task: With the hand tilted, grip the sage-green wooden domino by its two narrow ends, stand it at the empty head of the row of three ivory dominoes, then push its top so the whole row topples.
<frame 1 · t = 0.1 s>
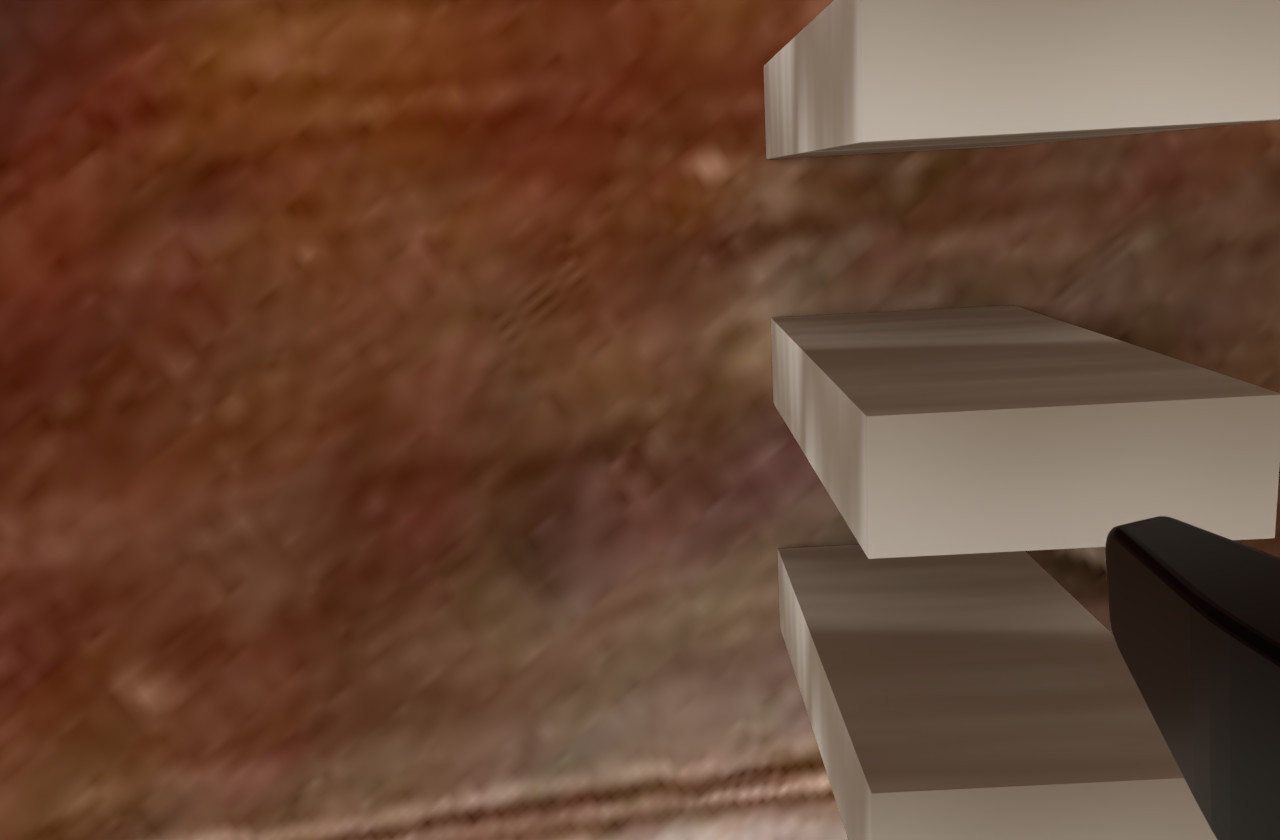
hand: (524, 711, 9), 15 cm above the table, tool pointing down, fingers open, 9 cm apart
ivory domino 1: (894, 582, 25), on the table
ivory domino 3: (890, 106, 23), on the table
ivory domino 2: (892, 354, 24), on the table
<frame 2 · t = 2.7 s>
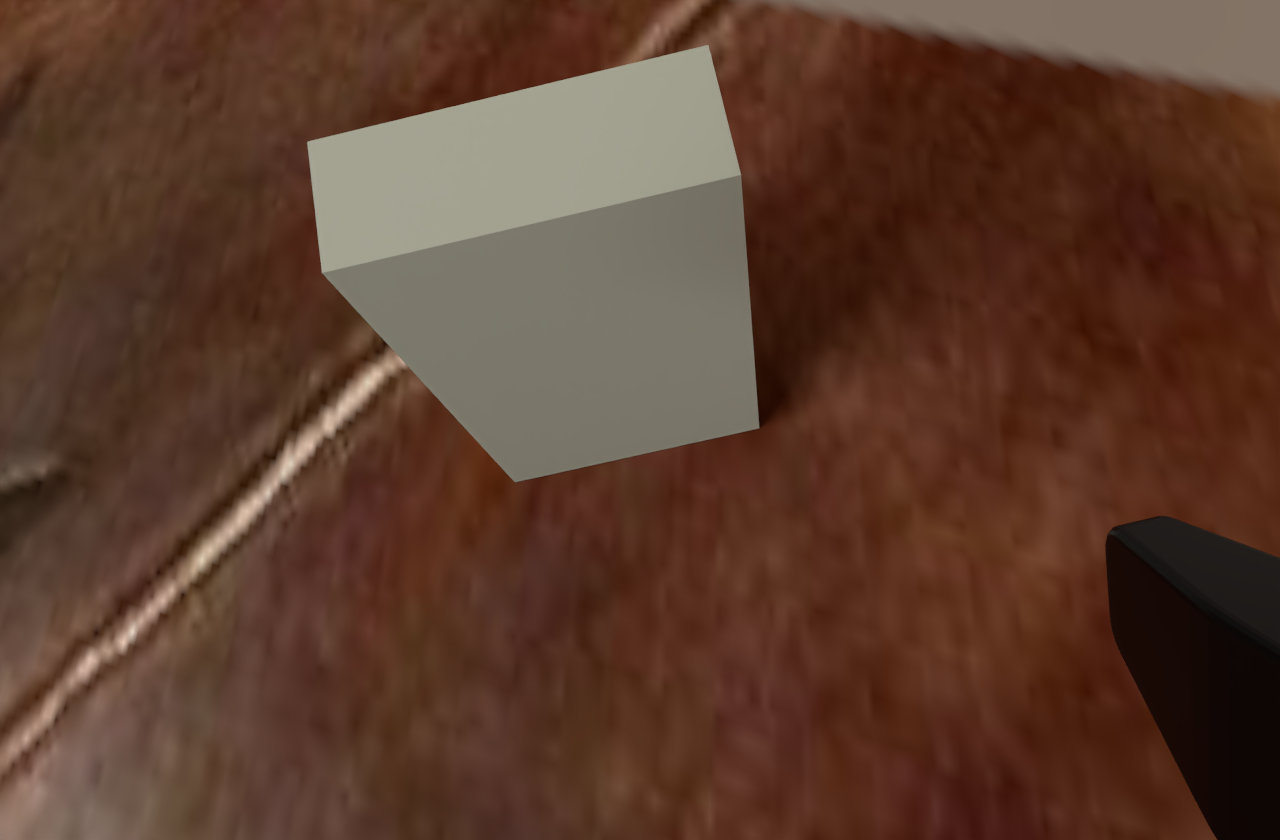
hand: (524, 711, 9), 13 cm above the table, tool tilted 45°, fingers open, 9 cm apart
sage domino: (628, 413, 23), on the table
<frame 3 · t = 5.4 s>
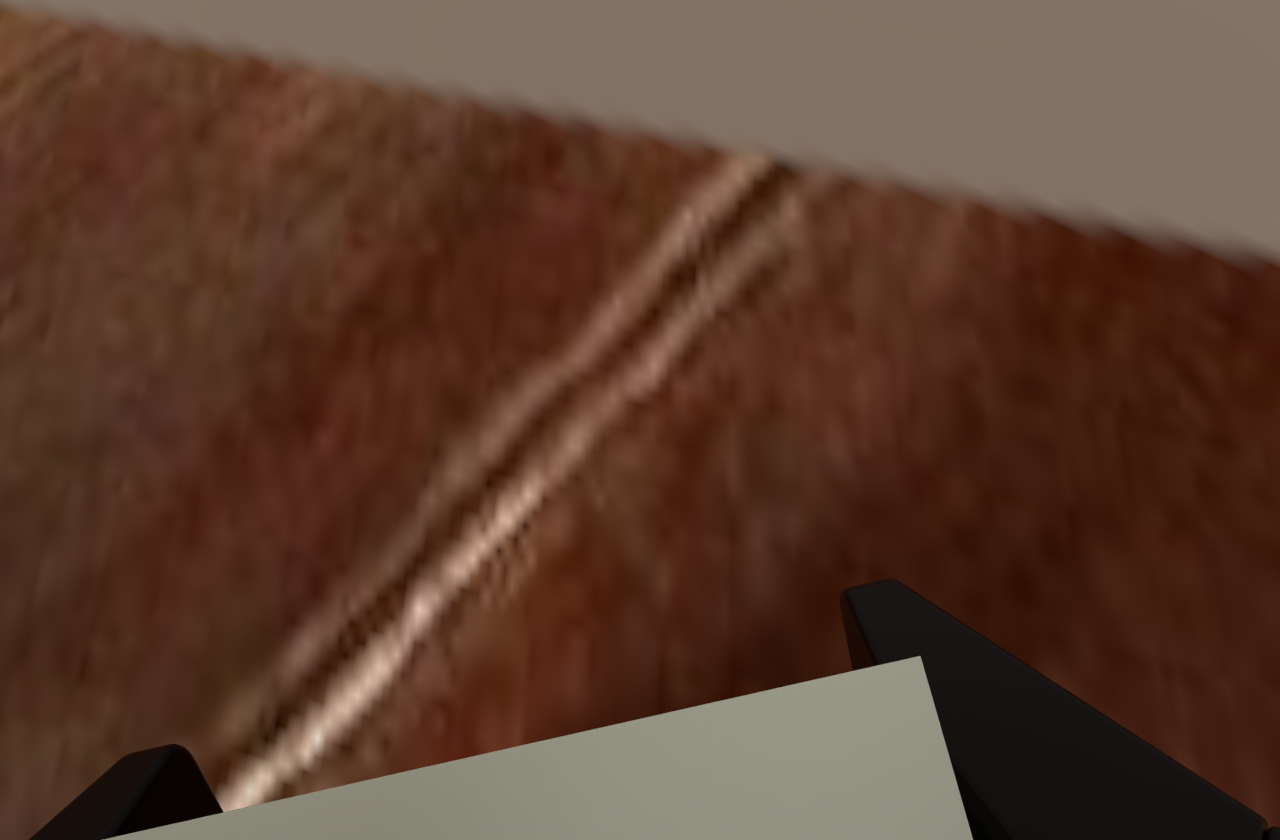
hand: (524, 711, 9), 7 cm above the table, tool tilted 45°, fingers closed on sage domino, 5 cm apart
when the fingers open (7 cm above the table, at t = 11.0 s): sage domino stays where it is, on the table.
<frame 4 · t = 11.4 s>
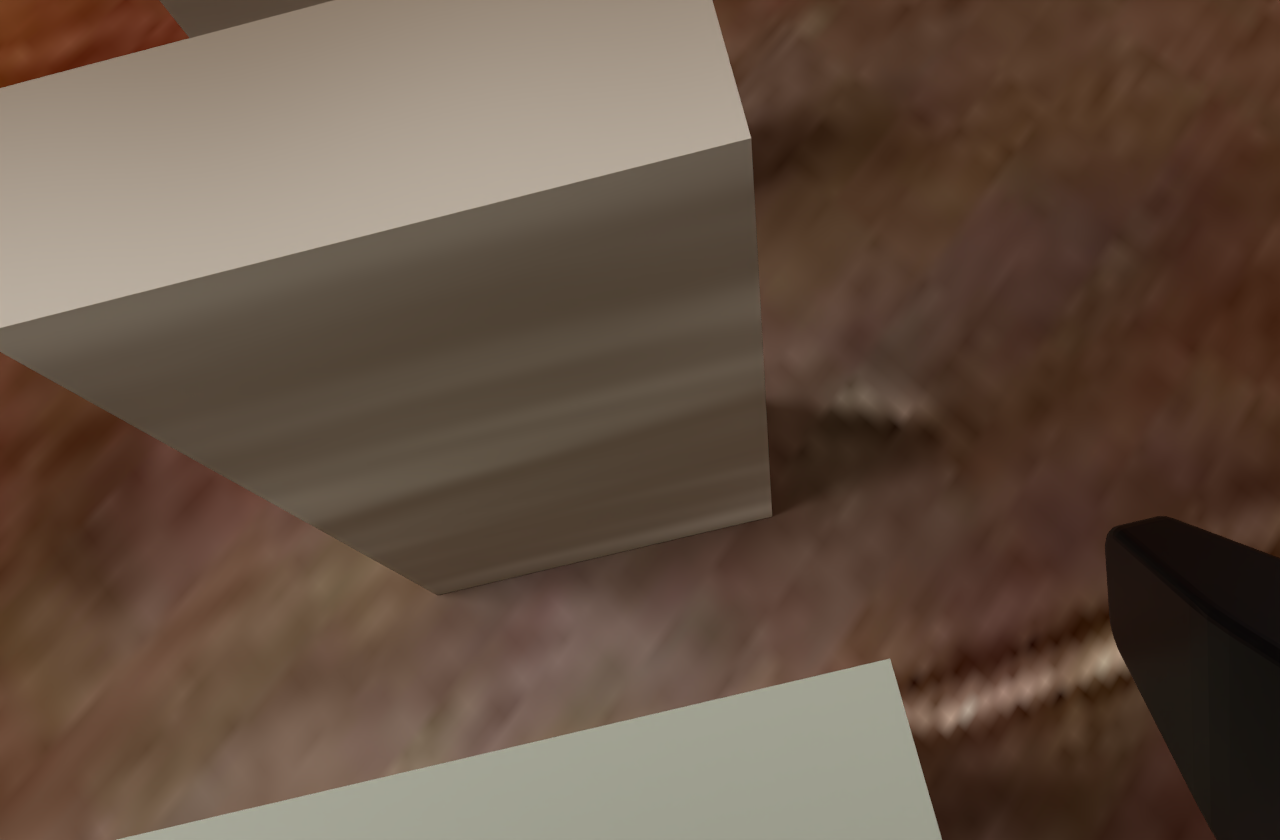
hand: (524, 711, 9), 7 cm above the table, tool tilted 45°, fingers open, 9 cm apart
ivory domino 1: (591, 497, 17), on the table
ivory domino 2: (532, 205, 18), on the table
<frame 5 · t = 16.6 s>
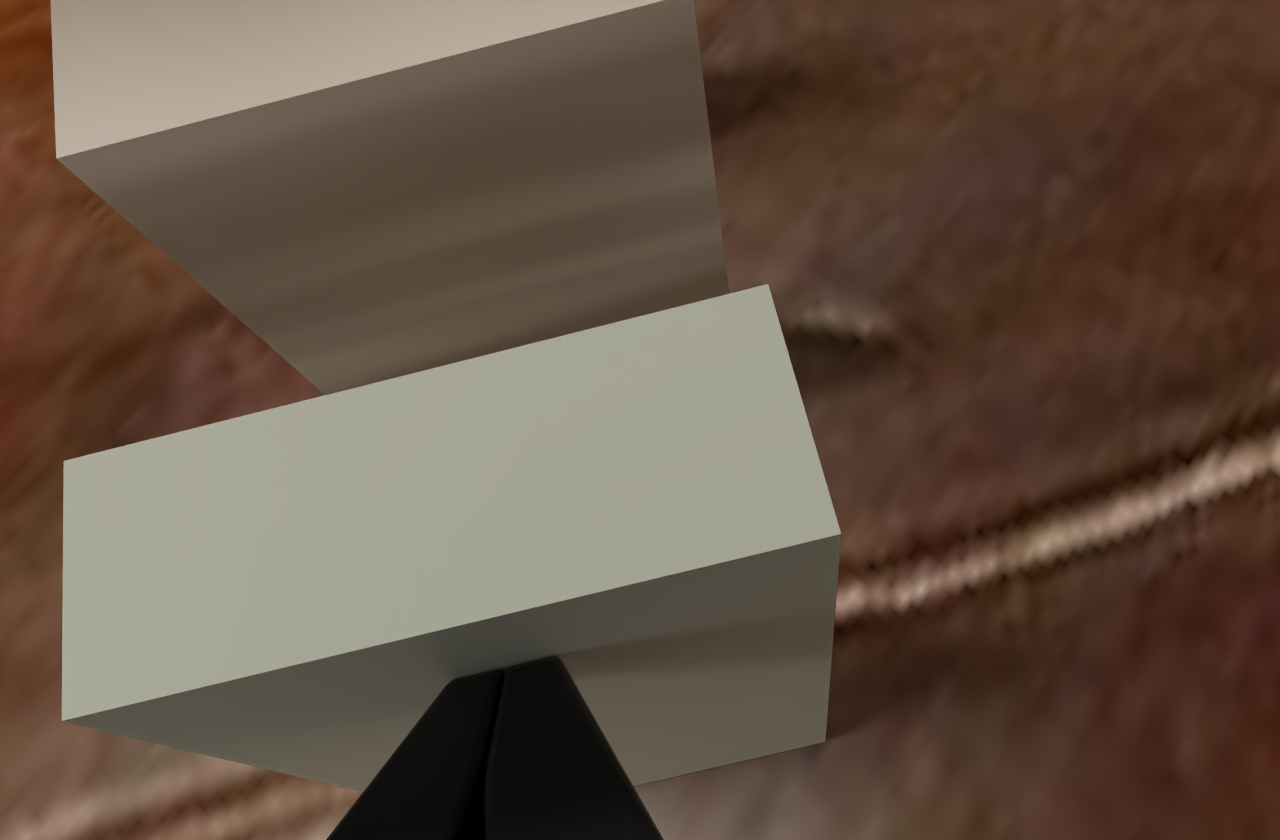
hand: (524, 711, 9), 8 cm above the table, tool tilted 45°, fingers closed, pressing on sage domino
sage domino: (640, 718, 16), on the table, touching gripper
ivory domino 1: (579, 406, 18), on the table
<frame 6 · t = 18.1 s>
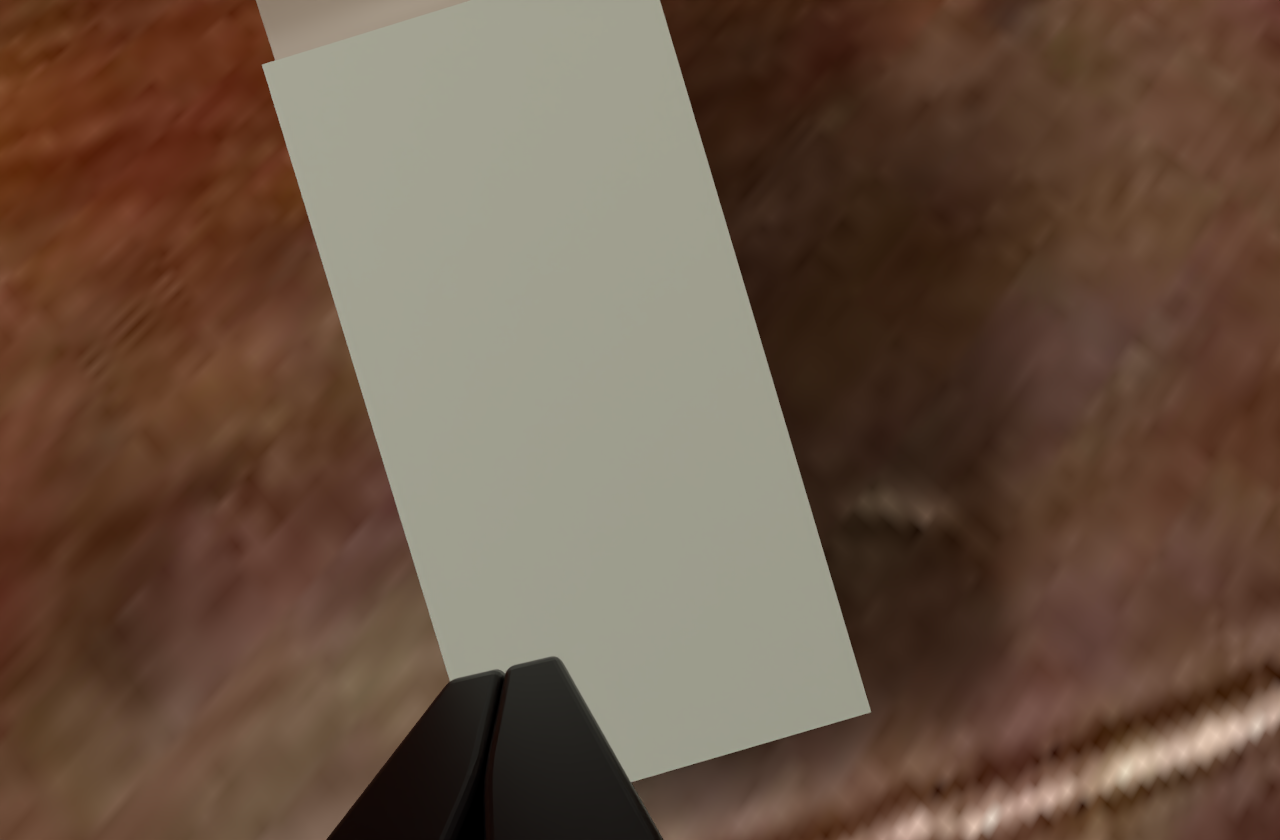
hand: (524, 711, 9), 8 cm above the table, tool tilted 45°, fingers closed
sage domino: (680, 745, 15), point 1 cm above the table, tilted 69°, touching ivory domino 1
ivory domino 1: (580, 418, 17), point 1 cm above the table, tilted 70°, touching sage domino
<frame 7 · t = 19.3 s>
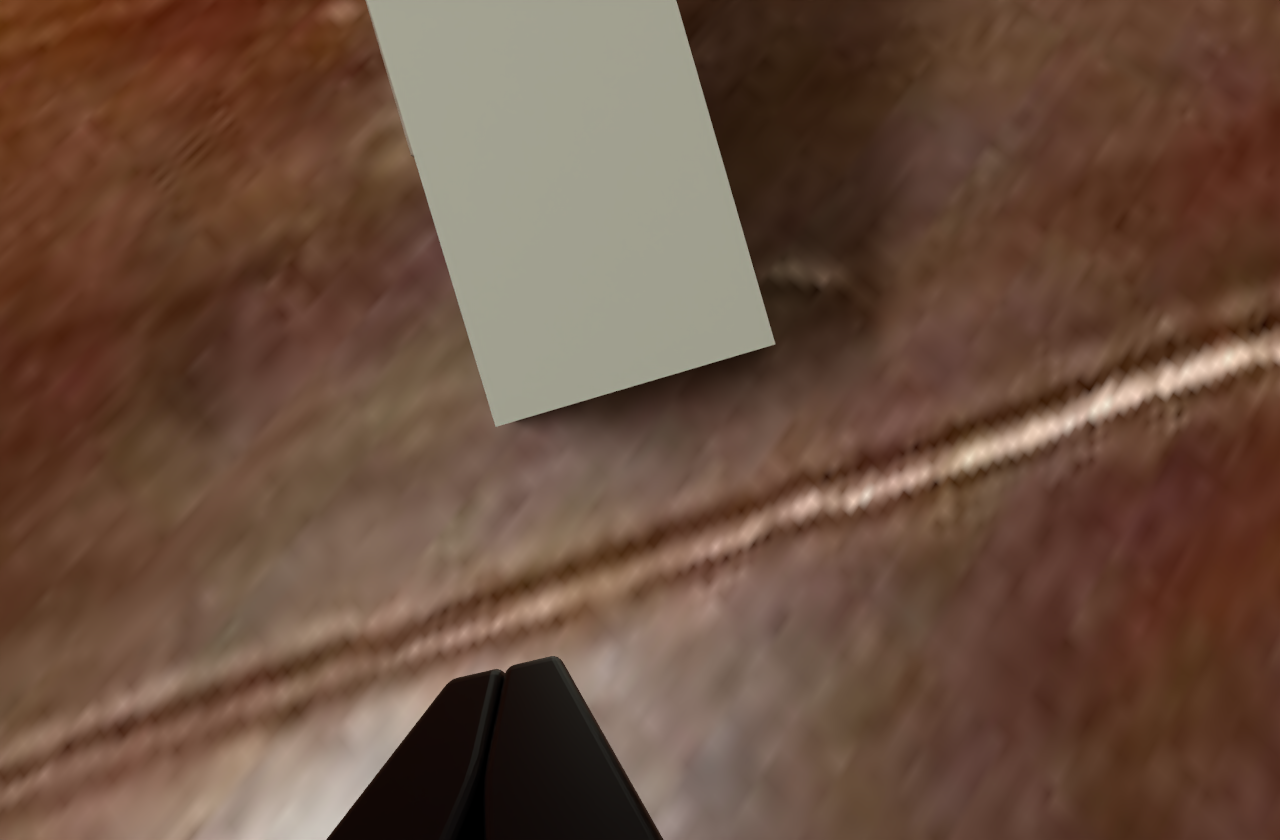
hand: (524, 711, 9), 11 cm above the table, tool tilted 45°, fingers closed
sage domino: (635, 384, 20), point 1 cm above the table, tilted 69°, touching ivory domino 1
ivory domino 1: (542, 126, 22), point 1 cm above the table, tilted 65°, touching ivory domino 2, sage domino
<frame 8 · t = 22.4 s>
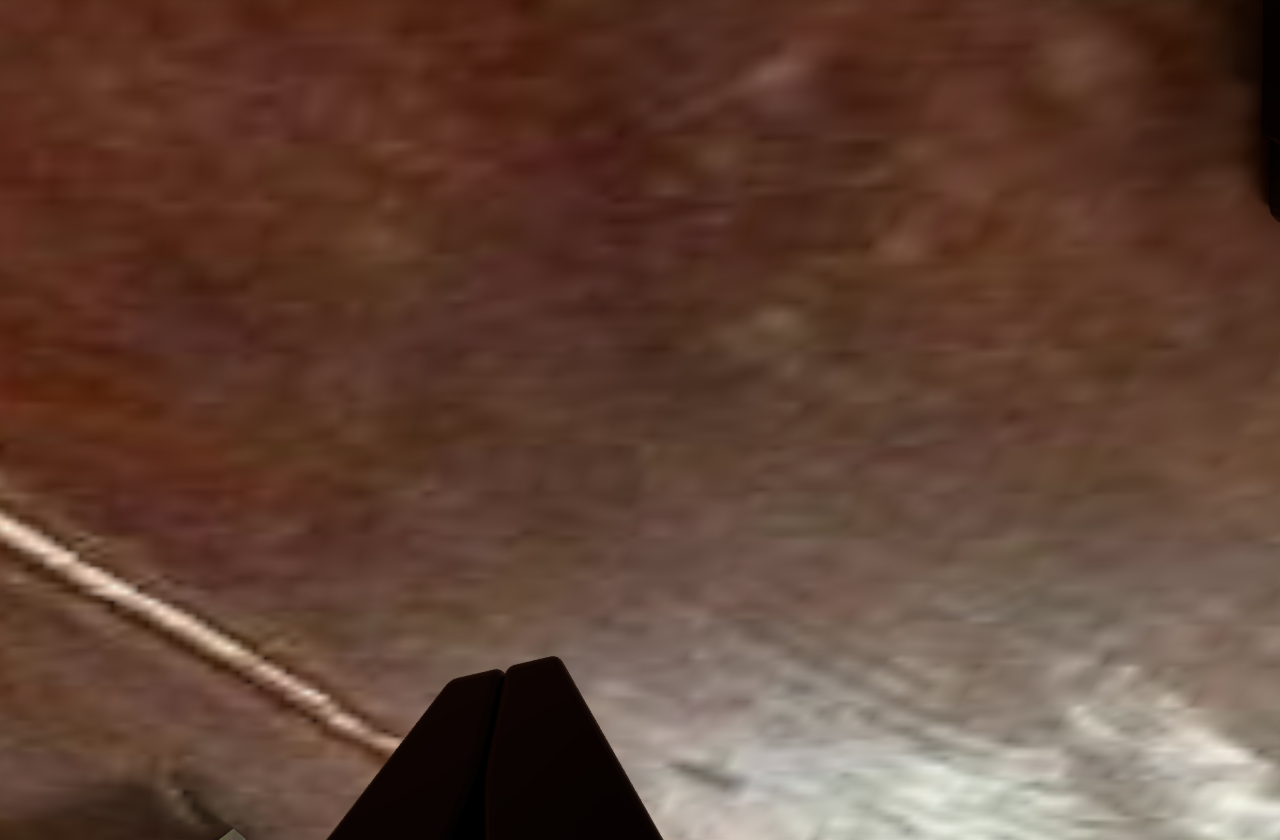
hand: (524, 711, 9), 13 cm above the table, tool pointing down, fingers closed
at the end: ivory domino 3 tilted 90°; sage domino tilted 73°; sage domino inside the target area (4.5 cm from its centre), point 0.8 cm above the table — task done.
